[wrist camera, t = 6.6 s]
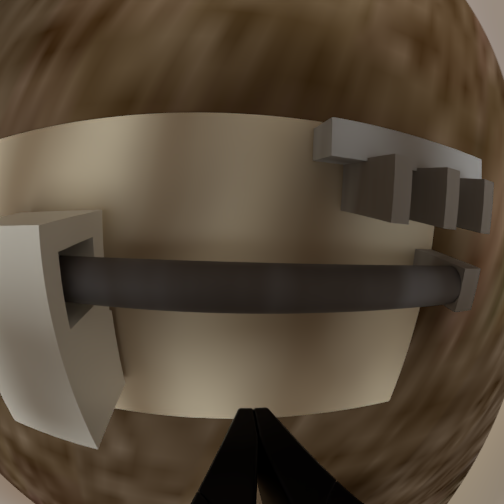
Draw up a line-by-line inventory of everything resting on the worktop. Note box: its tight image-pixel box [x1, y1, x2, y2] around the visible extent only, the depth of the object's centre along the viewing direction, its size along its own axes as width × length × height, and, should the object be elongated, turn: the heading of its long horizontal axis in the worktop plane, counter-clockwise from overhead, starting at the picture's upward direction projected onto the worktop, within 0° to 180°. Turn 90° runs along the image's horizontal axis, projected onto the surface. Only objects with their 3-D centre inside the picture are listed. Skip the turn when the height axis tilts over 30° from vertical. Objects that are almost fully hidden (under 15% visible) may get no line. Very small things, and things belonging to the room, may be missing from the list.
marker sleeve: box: [0, 210, 125, 449], centre depth 8 cm, size 4×7×4 cm, turn 177°
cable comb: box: [0, 112, 494, 419], centre depth 8 cm, size 25×13×4 cm, turn 87°
